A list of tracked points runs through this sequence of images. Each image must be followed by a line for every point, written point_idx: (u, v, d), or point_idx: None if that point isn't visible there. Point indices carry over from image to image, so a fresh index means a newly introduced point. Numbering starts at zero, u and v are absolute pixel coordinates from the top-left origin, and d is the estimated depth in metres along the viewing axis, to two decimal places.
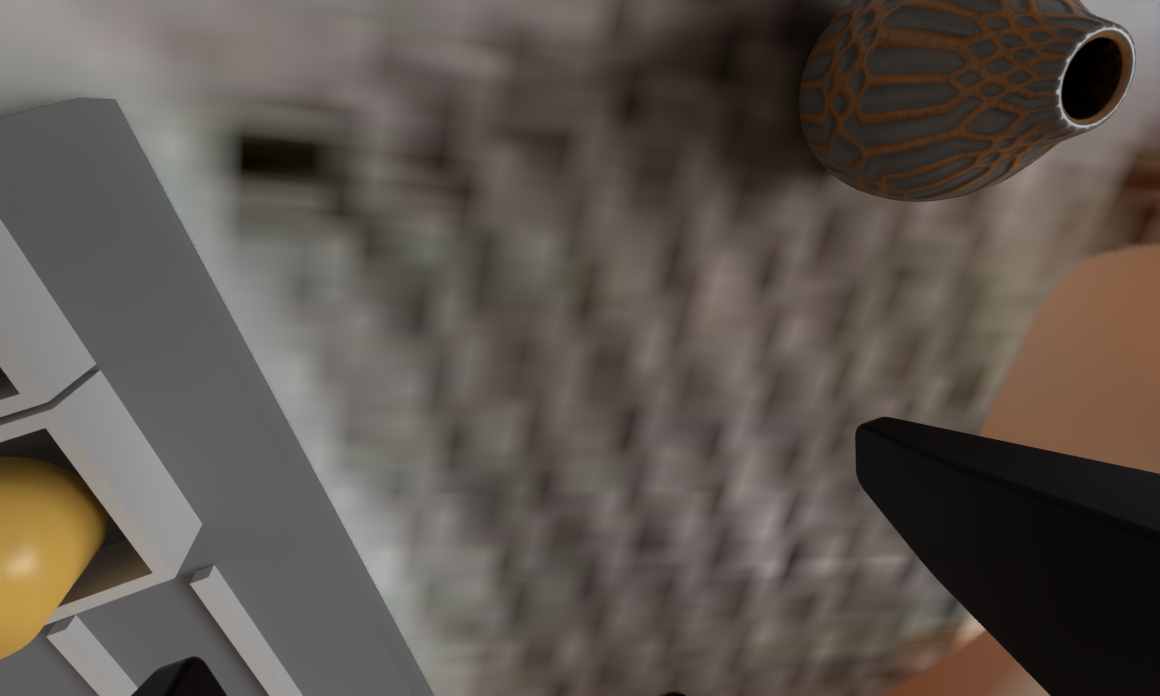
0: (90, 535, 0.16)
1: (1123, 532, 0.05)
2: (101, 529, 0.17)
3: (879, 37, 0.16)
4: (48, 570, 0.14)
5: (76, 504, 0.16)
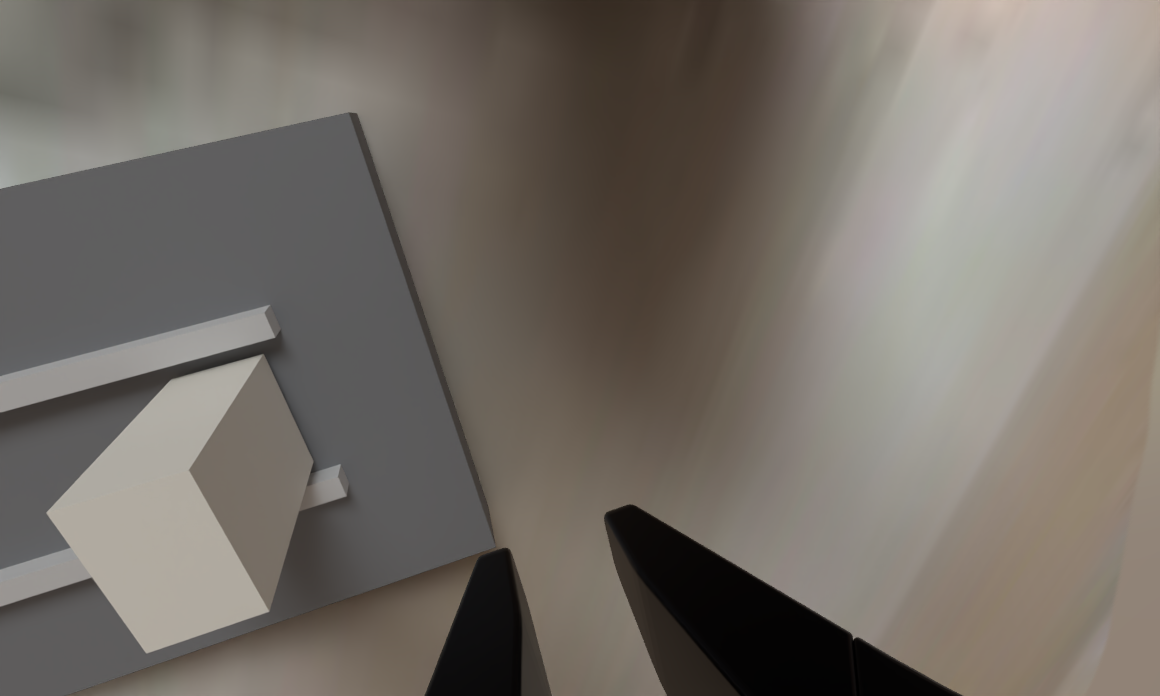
0: None
1: (734, 691, 0.05)
2: None
3: None
4: None
5: None
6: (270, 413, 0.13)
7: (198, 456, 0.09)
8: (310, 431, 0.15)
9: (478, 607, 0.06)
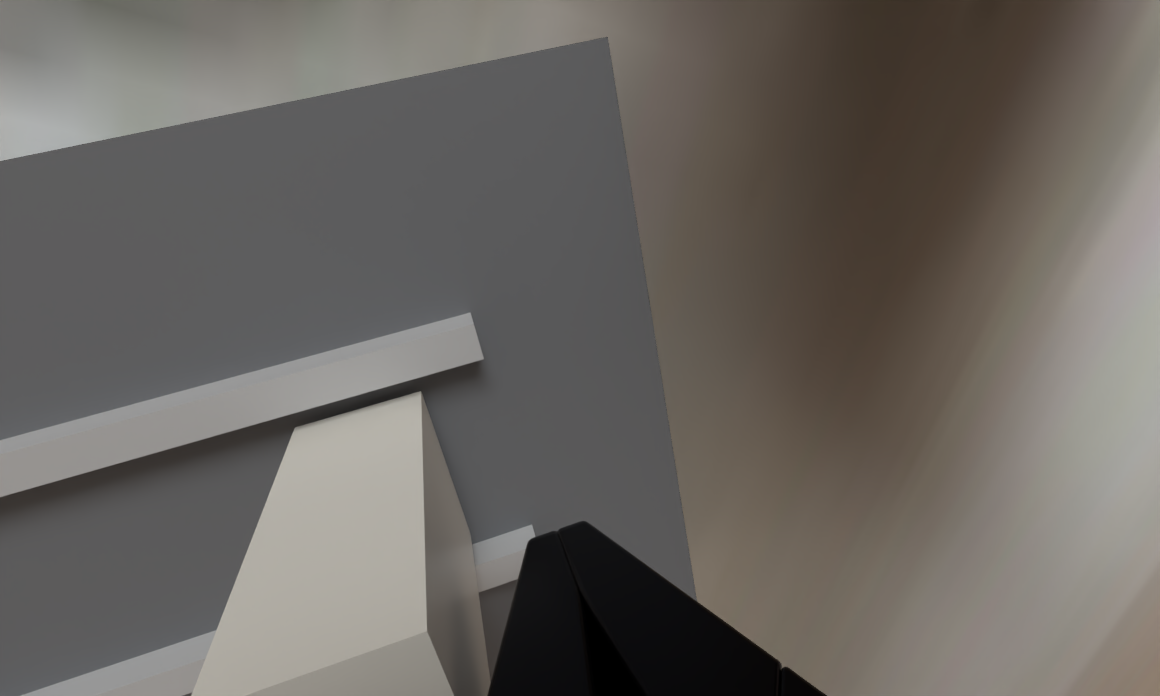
0: None
1: None
2: None
3: None
4: None
5: None
6: (441, 479, 0.09)
7: (426, 596, 0.06)
8: (500, 483, 0.11)
9: (536, 586, 0.06)
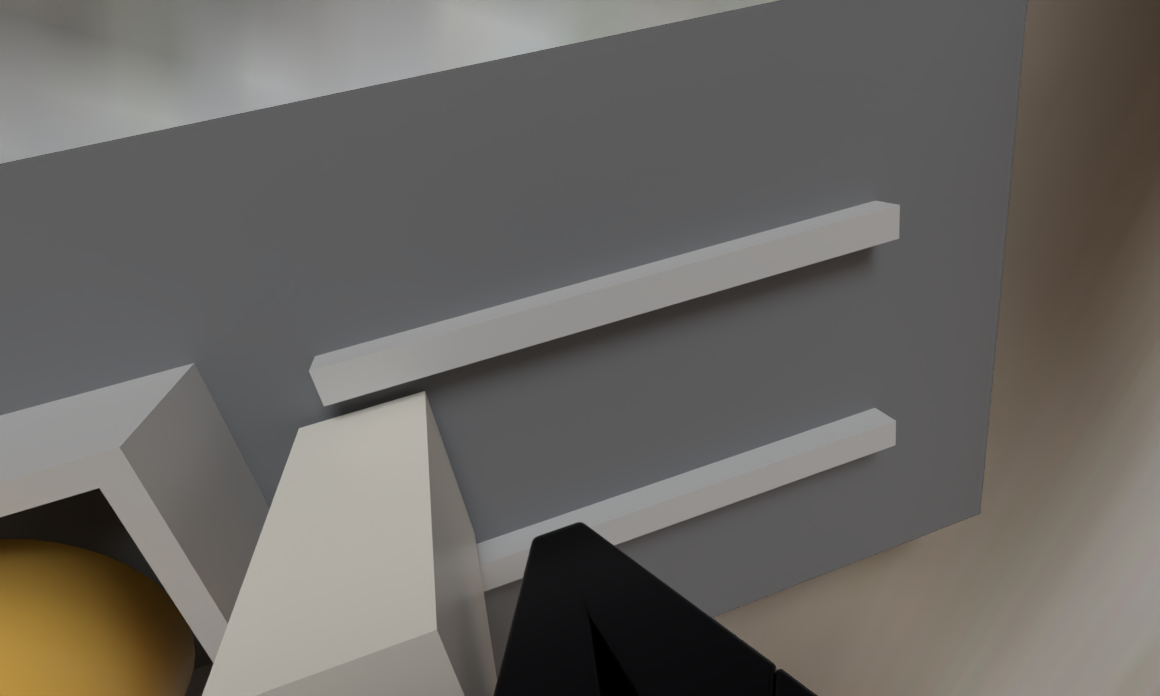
0: None
1: None
2: (2, 558, 0.07)
3: None
4: None
5: None
6: (446, 479, 0.09)
7: (435, 596, 0.06)
8: (860, 366, 0.12)
9: (541, 584, 0.06)
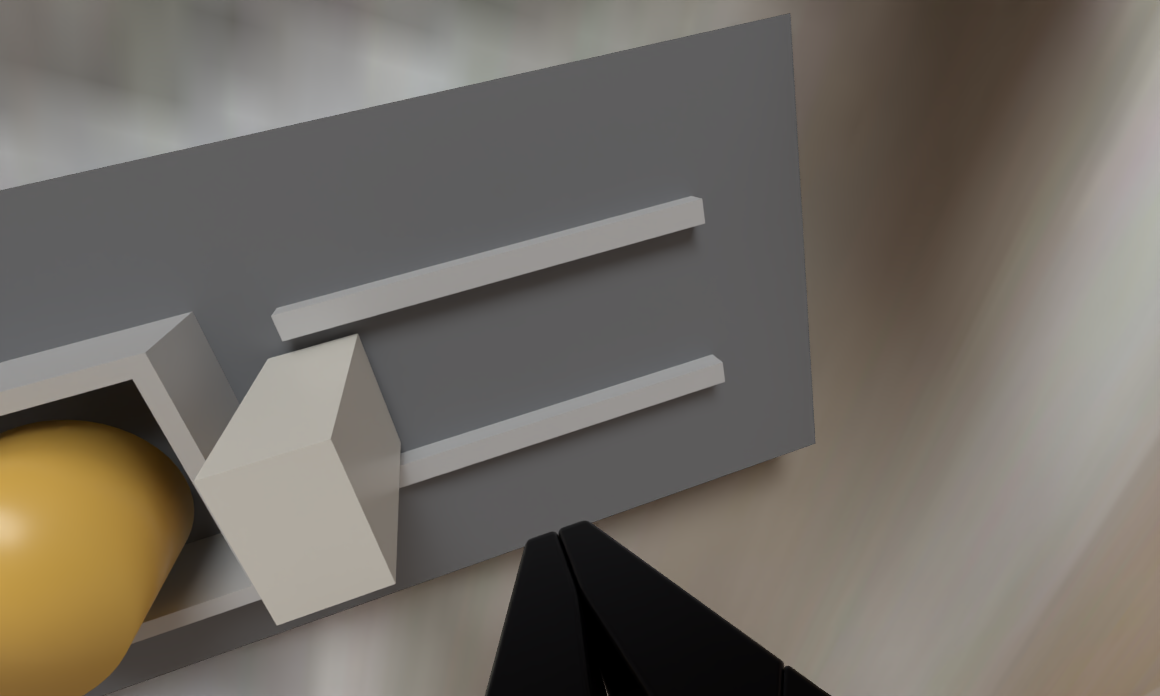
0: (36, 443, 0.10)
1: None
2: (69, 429, 0.11)
3: None
4: None
5: None
6: (369, 391, 0.13)
7: (334, 426, 0.09)
8: (695, 321, 0.16)
9: (534, 587, 0.06)
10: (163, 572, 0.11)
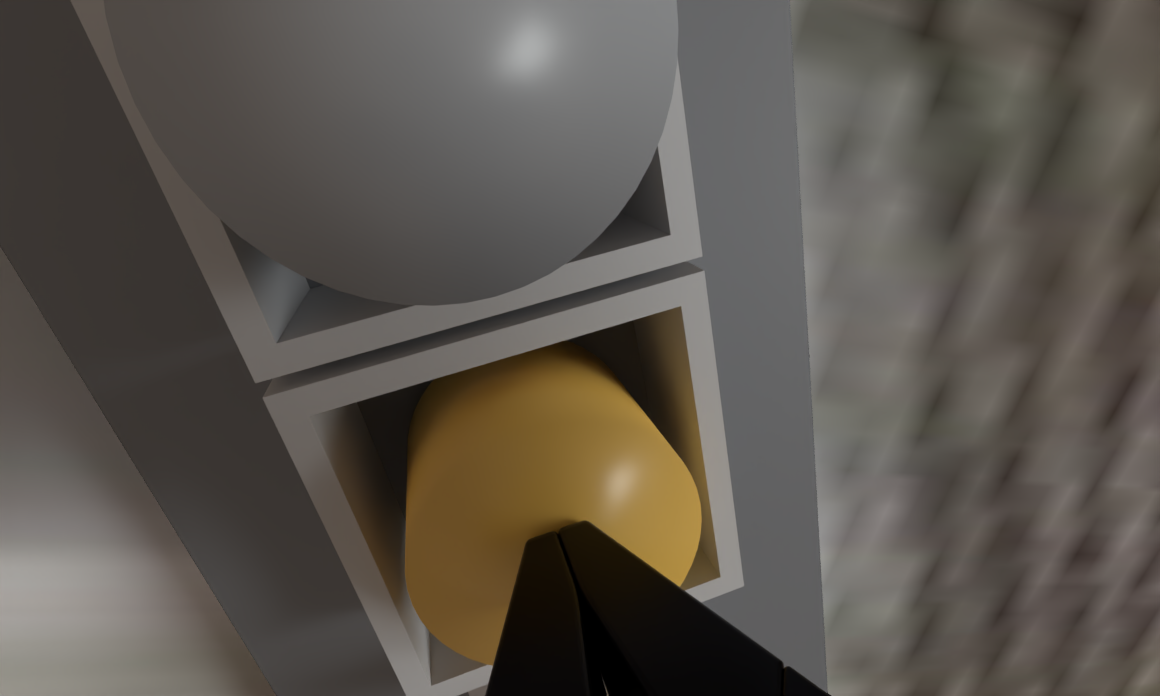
0: None
1: None
2: None
3: None
4: None
5: None
6: None
7: None
8: None
9: (534, 587, 0.06)
10: None
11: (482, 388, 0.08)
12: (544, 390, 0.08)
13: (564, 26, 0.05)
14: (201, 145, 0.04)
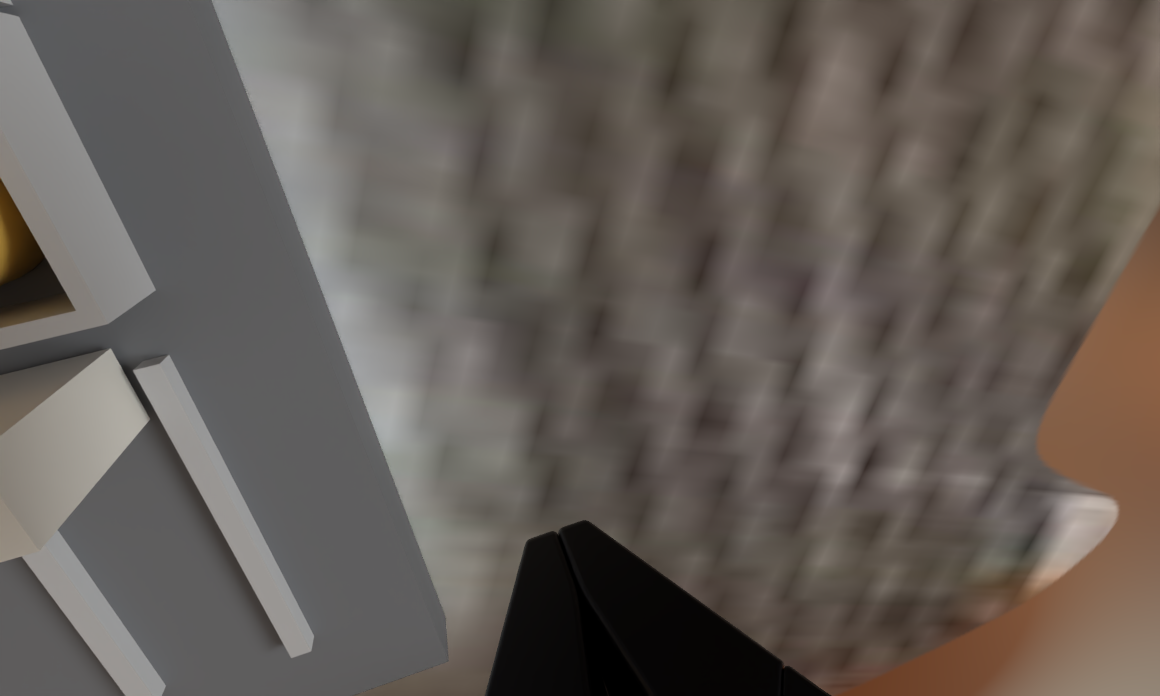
0: None
1: None
2: None
3: None
4: None
5: None
6: None
7: (51, 536, 0.11)
8: (199, 665, 0.18)
9: (534, 587, 0.06)
10: None
11: None
12: None
13: None
14: None
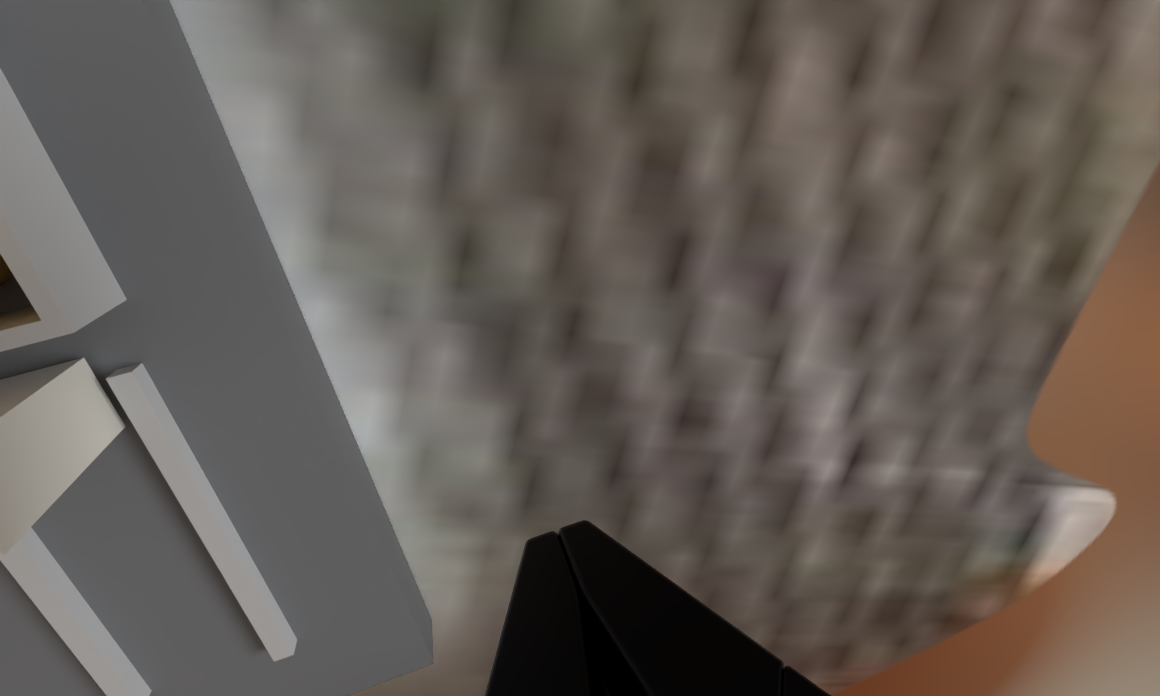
0: None
1: None
2: None
3: None
4: None
5: None
6: None
7: (17, 540, 0.11)
8: (183, 670, 0.18)
9: (534, 587, 0.06)
10: None
11: None
12: None
13: None
14: None
